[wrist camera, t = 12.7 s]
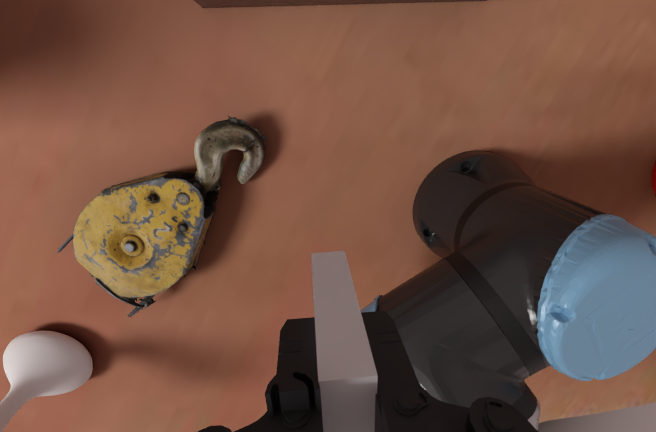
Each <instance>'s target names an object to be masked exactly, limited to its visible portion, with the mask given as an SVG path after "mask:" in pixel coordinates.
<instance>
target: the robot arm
mask: <svg viewBox="0 0 656 432" xmlns="http://www.w3.org/2000/svg"><path fill="white" fill-rule="evenodd" d="M413 221H414V225H415V229H416V231H417V233H418V235H419V236H420V238H421V239H422V240H423V242H424V243H425V244H426V245H427V247H428V248H429V249H430V250H432V251H433V252H434V253H435V254H437V255H438V256H440V257H442V258H443V259H442V260H440V261H438V262H437V263H435V264H434V265H432V266H430V267H429V268H427V269H425V270H424V271H422V272H421V273H419V274H417V275H416V276H414V277H413V278H411V279H409V280H408V281H406V282H405V283H403V284H401V285H400V286H398V287H396V288H395V289H393V290H392V291H390V292H388V293H387V294H385V295H384V296H382V295H379V296H377V297H376V298H375V299H374V301H373V302H372V303H371V304H369V305H368V306H366V307H365V308H363V309H362V310H360V307H359V303H358V299H357V296H356V292H355V288H354V284H353V281H352V277H351V273H350V269H349V266H348V262H347V258H346V254H345V251H337V252H323V253H311V259H312V277H313V296H314V314H315V317H313V318H301V319H289V320H287V321H286V322H285V324H284V326H283V327H282V329H281V330H280V341H279V352H278V353H279V355H278V363H277V374H276V376H274V378H273V379H272V380H271V381H270V382H269V384H268V386H267V389H266V392H265V397H266V403H267V410H268V411H267V412H266V413H265V415H263V416H262V417H261V418H260V419H259V420H257V421H256V422H254V423H252V424H250V425H248V426H246V427H244V428H241V429H239V430H237V431H234V432H538V422H539V415H540V403H539V401H538V400H537V398H536V397H535V396H534V394H533V393H532V391H531V390H530V389H529V387H528V386H527V384H526V383H525V381H524V380H525V379H526V378H528V377H529V376H531V375H532V374H534V373H536V372H538V371H540V370H542V369H544V368H546V367H548V366H550V365H551V366H552V367H553V368H554V369H556V370H558V371H559V372H561V373H564V374H565V375H567V376H569V377H571V378H574V379H577V380H581V381H592V379H593V378H596V379H598V380H599V379H600V380H603V379H608V378H611V377H614V376H617V375H619V374H621V373H623V372H625V371H627V370H629V369H631V368H632V367H634V366H635V365H637V364H638V363H639V362H641V361H642V360H643V359H645V358H646V357H647V356H648V355H649V354H650V353H652V352H653V351H654V350H655V349H656V237H655V236H654V235H652V234H650V233H648V232H646V231H644V230H642V229H640V228H638V227H636V226H634V225H632V224H630V223H628V222H626V220H624V219H622V218H621V217H618V216H616V215H610V214H605V213H603V212H600V211H598V210H595V209H593V208H590V207H588V206H585V205H583V204H580V203H578V202H575V201H573V200H570V199H567V198H565V197H562V196H560V195H557V194H555V193H552V192H550V191H547V190H545V189H542V188H539V187H537V186H536V185H535V184H534V183H533V182H532V181H531V180H530V178H529V177H528V176H527V175H526V174H525V173H524V171H523V170H522V169H521V168H520V167H519V166H518V165H517V164H515V163H514V162H513V161H511V160H509V159H507V158H505V157H503V156H500V155H497V154H494V153H491V152H486V151H469V152H464V153H460V154H457V155H455V156H452V157H450V158H448V159H447V160H445V161H443V162H442V163H440V164H439V165H438V166H436V167H435V168H434V169H433V170H432V171H431V172H430V173H429V174H428V175H427V177H426V178H425V179H424V181H423V182H422V184H421V186H420V187H419V189H418V192H417V194H416V197H415V200H414V205H413ZM198 432H232V431H231V430H230V429H229V428H226V427H224V426H221V425H220V426H209V427H207V428H205V429H202V430H200V431H198Z"/></svg>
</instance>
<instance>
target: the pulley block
mask: <svg viewBox="0 0 656 432" xmlns="http://www.w3.org/2000/svg"><path fill="white" fill-rule="evenodd" d="M228 117H229V116H228ZM264 139H265V137H264V136H262V135H261V133H260V132H259V129H258V128H257V129H254V128H253V127H251V126H249V125H247V124H246V122H245V121H244V120H240V119H237V118H236V117H233V118H231V117H229V119H228V120H224V121H219V122H215V123H213V124H211V125H209V126H208V127H207V128H205V129H204V130H203V131H201V133H200V134H199V136H198V137H197V139H196V142H195V146H194V156H195V160H196V164H197V171H196V173H191V172H189V173H176V172H163V173H159V174H155V175H151V176H147V177H143V178H140V179H136V180H132V181H129V182H125V183H121V184H118V185H113V186H111V187H109V188H107V189H105V190H103V191H102V192H101V193H100V194H99V195H98V196H97V197H96V198H95V199H94V200H92V201H91V202H90V203H89V204H88V205H87V206H86V207H85V208H84V210H83V211H82V212H81V214H80V216H79V218H78V220H77V223H76V225H75V228H74V234H73V235H72V236H70V237H69V238H68V239H67V240H66V242H65V243H64V244H63V245H62V246H61V247H60V248H58V251H57V252H60V251H61V250H62V249H63V248H64V247H65V246H66V245H67V244H68V243H69V242H70V241H71V240H72V239H73V244H74V253H75V257H76V259H77V261H78V262H79V263H80V264H81V265H82V266H84V267H85V268H86V269H87V270H88V271H89V272H90V274H91V276H92V277H94V278H95V281H96V284H98V285H99V286H101V287H102V288H103V289H104V290H106V291H107V292H108V293H109V294H110V295H111V296H113V297H115V298H117V299H119V300H121V301H123V302H125V303H128V304H130V305H133V306H136V308H135V309H134V310H133V311H132V312H131V313H130V314H129V315H128V317H131V316H132V315H134V314H135V313H137V312H139V310H140V309H141V310H142V309H143V307H145V308H147V307H148V306H149V305H151V304H153V303H154V302H156V301H154V300H153V299H152V298H153V297H154V296H155V295H156V294H158V293H160V292H162V291H164V290H167V289H168V288H170V287H171V286H172V285H174V284H175V283H176V282H177V281H178V280H179V279H180V278H181V277H183V276H184V277H185V275H186V274H187V273H188V272H189V271H190V270H191V269H192V268H194V269H195V270H196V267H195V265H197V262H198V257H199V253H200V250H201V247H202V244H203V243H205V242H204V238H205V235H206V233H207V230H208V227H209V224H210V222H211V219H212V216H213V213H214V210H215V206H214V204H215V202H216V200H217V195H218V192H217V191H216V190H219V189H221V183H220V177H221V173H222V170H223V167H224V155H225V153H226V152H227V151H229V150H232V149H238V150H241V151H242V152H243V153H244V156H243V160H242V162H241V163H240V166H239V169H238V174H237V179H238V180H239V182H240V183H241V184H245V183H247V182H248V181H249V180H250V178H251V177H252V176H253V175H254V174H255V172H256V171H257V170H258V169H259V168H260V167H261V165H262V163H263V161H264V157H265V145H264ZM139 297H145V298H144V299H140V300H141V301H142V302H140V303H139V304H138V303H135V300H136V301H137V298H139Z"/></svg>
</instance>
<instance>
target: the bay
mask: <svg viewBox="0 0 656 432" xmlns="http://www.w3.org/2000/svg"><path fill="white" fill-rule="evenodd" d="M194 1H195V2H196V3H198V4H199V5H200V6H201V7H202V8H223V7H262V6H301V5H339V4H378V3H416V2H455V1H486V0H194Z"/></svg>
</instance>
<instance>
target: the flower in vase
mask: <svg viewBox="0 0 656 432" xmlns="http://www.w3.org/2000/svg"><path fill="white" fill-rule="evenodd" d="M3 365H4V370H5V373H6V375H7V378H8V380H9V382H10V384H11V388H10V391H9V392H8V394H7V395H6V397H5V398H4V399H3V400H2V401H1V402H0V432H2V431H3V429H4V428H5V426H6V425H7V424H8V422H9V421H10V419H11V418H12V417H13V416H14V415H15V413H16V412H17V411H18V410H19V409H20V408H21V407H22V406H23V405H24V404H25V403H26V402H27V401H28V400H30V399H32V398H34V397H38V396H50V395H58V394H63V393H67V392H70V391H73V390H75V389H77V388H78V387H80V386H81V385H83V384H84V383H85V382H87V381H88V379H89V378H90V376H91V374H92V371H93V362H92V358H91V355H90V353H89V352H88V350H87V349H86V348H85V347H84V346H83V345H82V344H81V343H80V342H78V341H77V340H75V339H74V338H72V337H70V336H67V335H65V334H62V333H59V332H54V331H34V332H29V333H25V334H22V335H20V336H17V337H16V338H14V339H13V340H12V341H11V342H10V343H9V344H8V346H7V348H6V350H5V352H4V355H3Z"/></svg>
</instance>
